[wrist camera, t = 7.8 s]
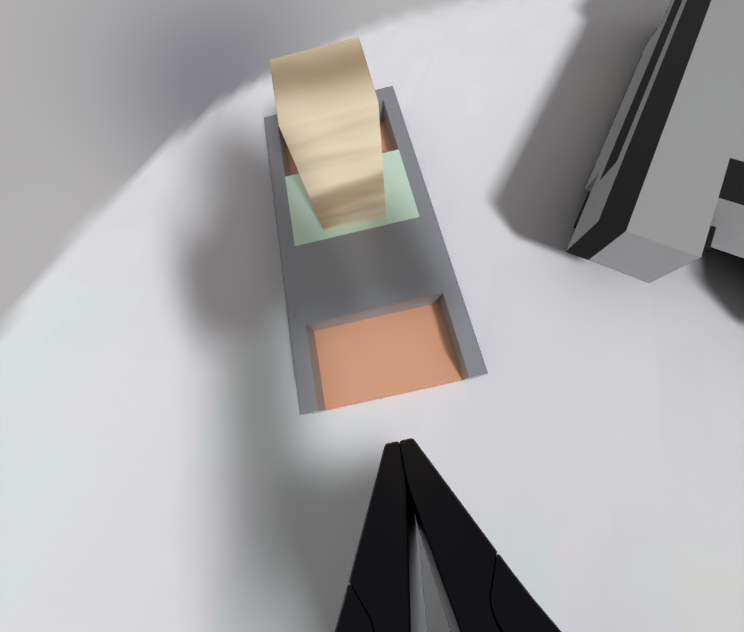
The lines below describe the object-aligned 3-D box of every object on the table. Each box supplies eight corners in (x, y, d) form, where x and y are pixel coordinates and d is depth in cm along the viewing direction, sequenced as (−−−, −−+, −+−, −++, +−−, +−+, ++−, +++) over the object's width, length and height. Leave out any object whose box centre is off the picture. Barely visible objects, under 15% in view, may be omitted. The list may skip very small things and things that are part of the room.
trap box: (477, 376, 21) (487, 373, 18) (311, 413, 21) (299, 414, 19) (393, 111, 29) (392, 86, 27) (274, 140, 29) (264, 117, 27)
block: (386, 217, 22) (378, 101, 14) (324, 231, 23) (278, 125, 14) (373, 168, 24) (358, 36, 15) (315, 181, 24) (269, 59, 16)
